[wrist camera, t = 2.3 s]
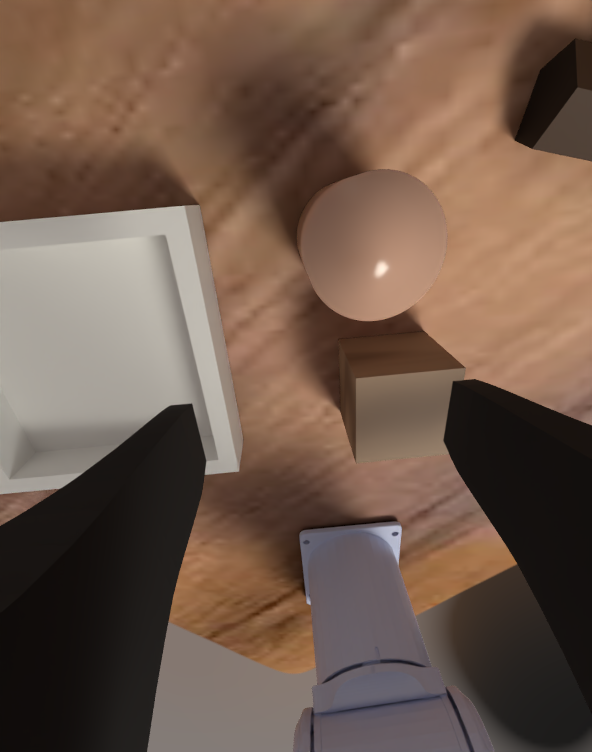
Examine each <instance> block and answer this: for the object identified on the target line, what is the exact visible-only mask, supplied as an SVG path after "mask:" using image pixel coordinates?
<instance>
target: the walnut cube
mask: <svg viewBox="0 0 592 752" xmlns="http://www.w3.org/2000/svg"><path fill="white" fill-rule="evenodd" d="M338 341H339V380H340V412H341V415H342V419H343V422H344V425H345V429H346V432H347V435H348V438H349V442H350V445H351V448H352V452H353V455H354V458H355V462H356V463H365V462H375V461H386V460H396V459H406V458H416V457H427V456H437V455H447V454H449V452H448V450H447V448H446V446H445V443H444V441H443V439H444V433H445V426H446V420H447V414H448V408H449V402H450V396H451V389H452V383H453V381H460V380H464V375H465V369H466V368H465V367H464V366H463V365H462V364H461V363H460V362H458V361H457V360H456V359H455V358H454V357H453V356H452V355H450V354H449V353H448V352H447V351H446V350H445V349H444V348H443V347H441V346H440V345H439V344H438V343H437V342H436V341H435V340H434V339H432V338H431V337H430V336H429V335H428V334H427V333H426V332H424V331H420V332H410V333H399V334H388V335H378V336H367V337H356V338H346V339H338Z"/></svg>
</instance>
